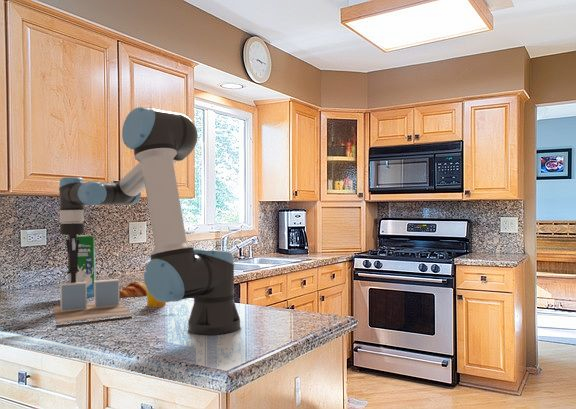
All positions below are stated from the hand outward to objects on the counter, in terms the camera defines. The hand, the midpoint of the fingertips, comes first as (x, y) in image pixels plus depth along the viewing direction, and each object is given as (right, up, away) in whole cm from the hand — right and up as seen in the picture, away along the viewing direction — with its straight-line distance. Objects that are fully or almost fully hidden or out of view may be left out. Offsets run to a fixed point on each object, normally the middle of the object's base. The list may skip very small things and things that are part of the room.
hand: (73, 291), depth 163 cm
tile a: (+1, -6, -2) cm, 6 cm away
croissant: (+15, -7, +26) cm, 31 cm away
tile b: (+10, -6, +3) cm, 12 cm away
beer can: (+27, -7, +4) cm, 28 cm away
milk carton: (-7, -8, +24) cm, 26 cm away
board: (+7, -7, -3) cm, 11 cm away
